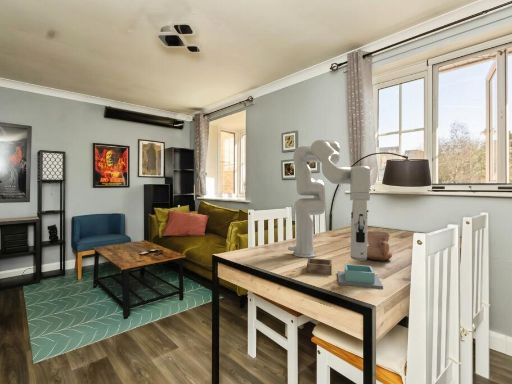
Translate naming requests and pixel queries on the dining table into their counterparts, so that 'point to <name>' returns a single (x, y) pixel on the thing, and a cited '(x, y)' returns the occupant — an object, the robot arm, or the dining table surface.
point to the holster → (319, 266)
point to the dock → (359, 276)
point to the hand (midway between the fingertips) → (359, 240)
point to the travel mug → (358, 243)
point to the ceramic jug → (378, 245)
